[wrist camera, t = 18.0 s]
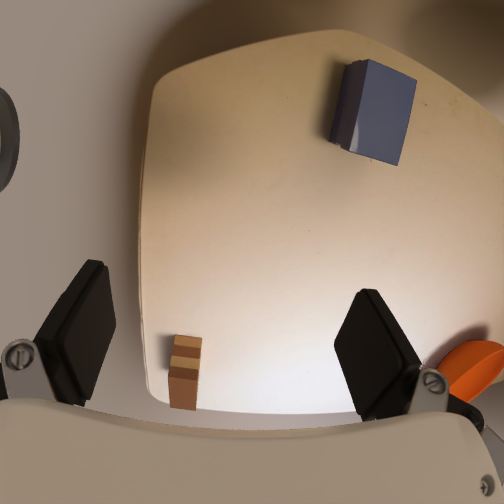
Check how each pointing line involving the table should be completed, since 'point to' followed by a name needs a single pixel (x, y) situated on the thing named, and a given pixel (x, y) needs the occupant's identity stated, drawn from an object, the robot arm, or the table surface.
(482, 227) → the table surface
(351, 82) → the navy books
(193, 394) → the tan books
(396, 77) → the navy book
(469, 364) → the bowl
